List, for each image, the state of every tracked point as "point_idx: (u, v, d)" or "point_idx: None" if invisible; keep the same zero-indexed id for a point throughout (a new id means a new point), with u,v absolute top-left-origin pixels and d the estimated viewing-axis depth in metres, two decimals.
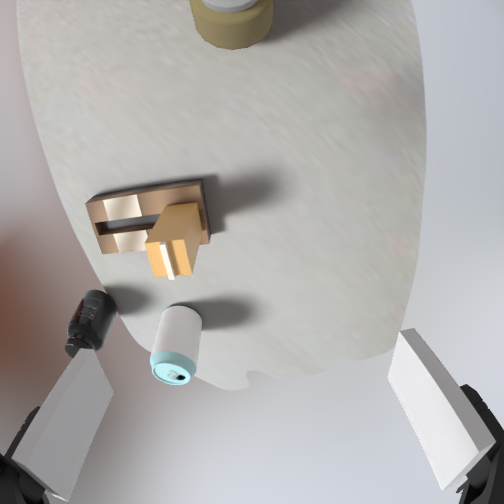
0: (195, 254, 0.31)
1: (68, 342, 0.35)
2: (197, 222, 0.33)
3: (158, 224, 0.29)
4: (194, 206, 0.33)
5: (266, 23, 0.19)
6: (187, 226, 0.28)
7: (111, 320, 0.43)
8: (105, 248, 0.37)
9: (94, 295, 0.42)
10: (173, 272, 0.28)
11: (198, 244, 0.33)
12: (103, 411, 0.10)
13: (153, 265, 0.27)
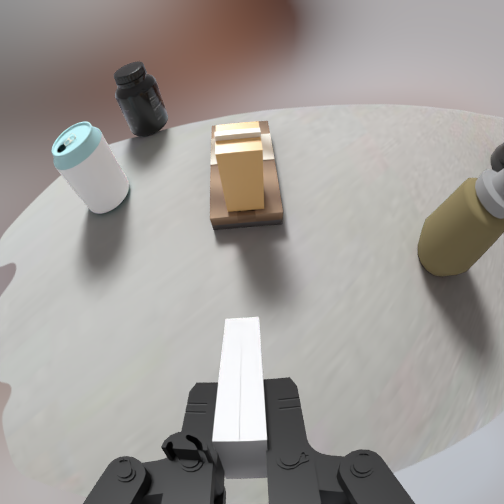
0: (223, 177, 0.26)
1: (143, 65, 0.33)
2: (246, 200, 0.30)
3: None
4: (263, 201, 0.30)
5: (463, 249, 0.22)
6: (262, 169, 0.26)
7: (135, 122, 0.39)
8: None
9: (164, 116, 0.41)
10: (222, 137, 0.24)
11: (225, 192, 0.28)
12: None
13: (231, 125, 0.25)
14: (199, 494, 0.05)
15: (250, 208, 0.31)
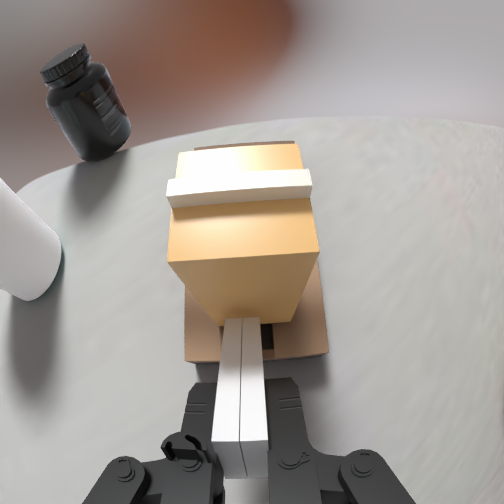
0: (202, 295, 0.10)
1: (85, 48, 0.17)
2: None
3: None
4: None
5: None
6: None
7: (76, 140, 0.22)
8: None
9: (123, 128, 0.25)
10: (190, 198, 0.08)
11: (210, 311, 0.12)
12: None
13: (221, 153, 0.09)
14: (198, 494, 0.05)
15: (263, 322, 0.15)
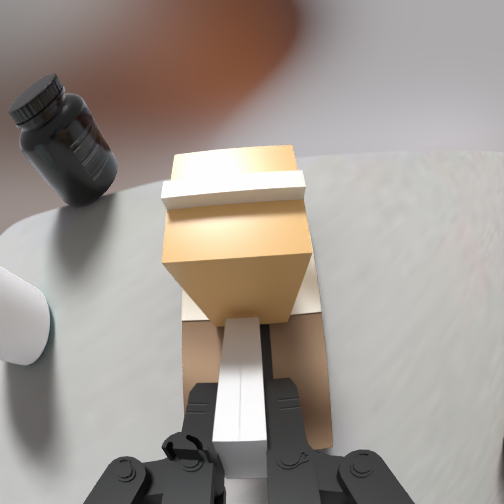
0: (198, 296, 0.10)
1: (57, 80, 0.14)
2: None
3: None
4: None
5: None
6: None
7: (56, 187, 0.20)
8: None
9: (107, 170, 0.23)
10: (185, 200, 0.08)
11: (206, 311, 0.12)
12: None
13: (215, 155, 0.09)
14: (199, 494, 0.05)
15: (260, 323, 0.15)
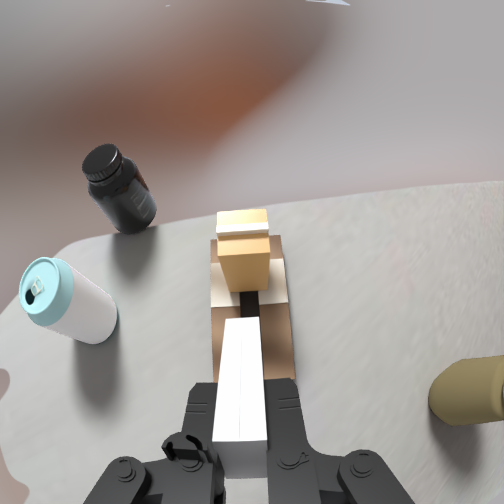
0: (226, 271, 0.25)
1: (118, 152, 0.28)
2: (249, 285, 0.28)
3: None
4: (267, 284, 0.29)
5: (472, 422, 0.17)
6: None
7: (116, 222, 0.33)
8: (217, 246, 0.33)
9: (151, 210, 0.36)
10: (225, 233, 0.22)
11: (227, 280, 0.27)
12: None
13: (234, 213, 0.23)
14: (199, 494, 0.05)
15: (253, 290, 0.30)
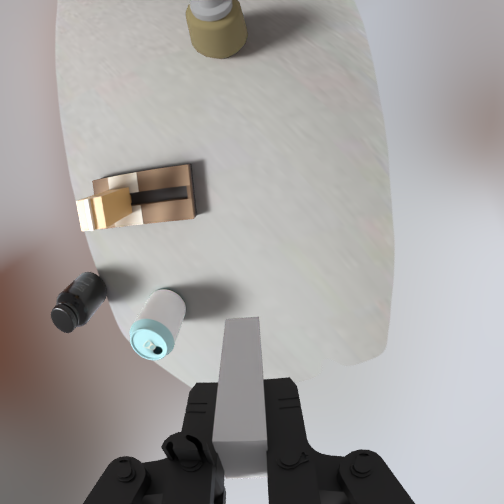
0: (116, 219, 0.35)
1: (55, 307, 0.36)
2: (125, 200, 0.38)
3: (93, 195, 0.35)
4: (124, 188, 0.38)
5: (239, 34, 0.28)
6: (109, 193, 0.33)
7: (99, 300, 0.45)
8: None
9: (87, 275, 0.45)
10: (93, 225, 0.32)
11: (123, 216, 0.37)
12: None
13: (80, 220, 0.32)
14: (199, 494, 0.05)
15: (129, 196, 0.40)
